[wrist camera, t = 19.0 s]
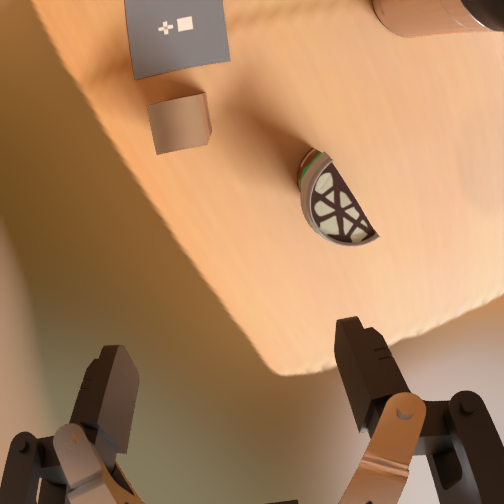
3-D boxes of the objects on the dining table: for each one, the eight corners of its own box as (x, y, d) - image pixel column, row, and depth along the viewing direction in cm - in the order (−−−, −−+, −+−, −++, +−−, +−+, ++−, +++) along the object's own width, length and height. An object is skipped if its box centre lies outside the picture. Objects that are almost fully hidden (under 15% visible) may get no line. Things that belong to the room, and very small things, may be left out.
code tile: (219, -22, 27) (219, -23, 27) (230, 61, 33) (230, 61, 33) (124, -2, 27) (124, -2, 27) (134, 79, 33) (134, 79, 33)
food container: (269, 166, 40) (281, 191, 32) (306, 138, 39) (330, 155, 30) (319, 231, 45) (340, 269, 37) (353, 207, 44) (381, 239, 35)
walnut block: (205, 92, 35) (198, 94, 26) (212, 130, 37) (207, 145, 29) (166, 100, 35) (146, 106, 26) (173, 138, 37) (156, 154, 29)
